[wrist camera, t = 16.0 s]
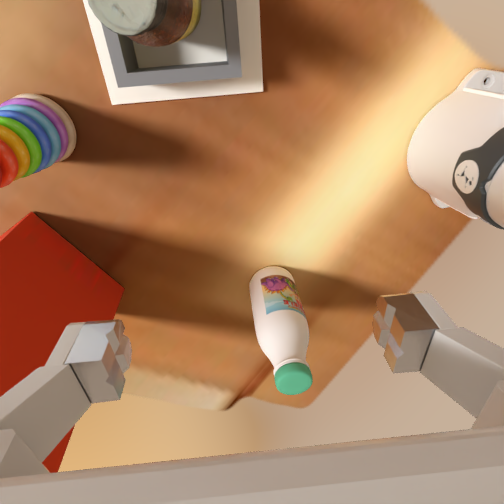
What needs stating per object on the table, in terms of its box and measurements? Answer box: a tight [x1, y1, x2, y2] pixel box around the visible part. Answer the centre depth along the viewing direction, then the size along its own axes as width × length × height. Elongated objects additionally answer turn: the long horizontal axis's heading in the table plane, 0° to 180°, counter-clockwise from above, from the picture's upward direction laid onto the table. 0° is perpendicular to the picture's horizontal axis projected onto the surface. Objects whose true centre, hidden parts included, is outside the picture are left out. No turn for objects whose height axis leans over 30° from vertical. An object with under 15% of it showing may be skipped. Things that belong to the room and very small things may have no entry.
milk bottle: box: [249, 266, 312, 395], centre depth 49 cm, size 8×8×20 cm
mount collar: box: [83, 0, 263, 105], centre depth 32 cm, size 18×18×7 cm
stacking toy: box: [0, 93, 76, 188], centre depth 32 cm, size 8×8×19 cm
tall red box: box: [0, 212, 125, 473], centre depth 38 cm, size 8×17×32 cm, turn 33°
